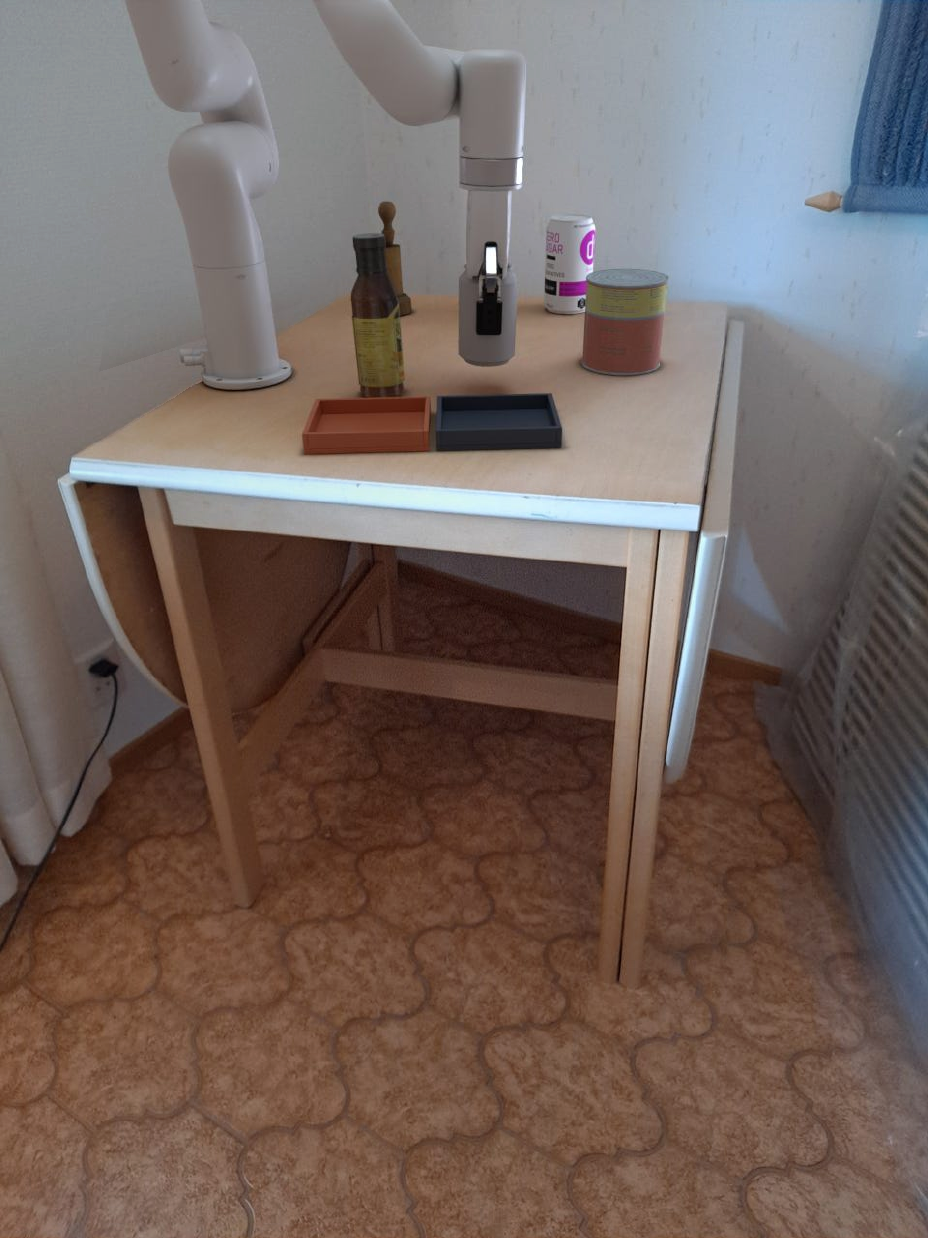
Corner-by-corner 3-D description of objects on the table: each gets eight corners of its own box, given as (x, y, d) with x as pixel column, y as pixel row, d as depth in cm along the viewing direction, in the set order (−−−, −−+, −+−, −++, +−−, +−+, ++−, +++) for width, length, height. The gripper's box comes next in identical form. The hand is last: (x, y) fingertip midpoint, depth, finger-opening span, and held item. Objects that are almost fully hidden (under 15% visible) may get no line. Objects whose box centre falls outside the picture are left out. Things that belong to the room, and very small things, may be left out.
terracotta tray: (304, 453, 99) (301, 434, 98) (318, 417, 110) (315, 398, 108) (429, 450, 99) (428, 430, 98) (431, 414, 109) (430, 395, 108)
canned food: (675, 362, 126) (685, 275, 119) (628, 380, 119) (636, 289, 113) (613, 348, 132) (619, 265, 126) (565, 364, 126) (569, 277, 119)
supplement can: (597, 306, 154) (603, 215, 146) (577, 317, 149) (582, 222, 141) (557, 302, 158) (560, 212, 150) (536, 311, 152) (538, 219, 144)
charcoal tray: (436, 450, 99) (435, 430, 98) (437, 414, 109) (436, 395, 108) (561, 447, 99) (562, 427, 98) (551, 411, 109) (551, 392, 108)
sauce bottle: (411, 397, 115) (402, 236, 104) (366, 404, 113) (352, 241, 102) (396, 383, 120) (386, 229, 109) (353, 390, 118) (338, 233, 107)
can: (510, 370, 111) (513, 271, 104) (452, 366, 112) (453, 268, 105) (518, 353, 117) (522, 259, 110) (464, 350, 118) (465, 256, 112)
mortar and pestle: (371, 309, 156) (363, 200, 146) (406, 306, 158) (400, 197, 148) (379, 318, 151) (371, 205, 141) (415, 314, 152) (410, 202, 143)
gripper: (458, 165, 109) (458, 309, 119) (459, 182, 95) (459, 344, 105) (517, 165, 110) (512, 309, 119) (527, 183, 95) (520, 345, 105)
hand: (487, 324), depth 112 cm, fingers closed on can, 7 cm apart
